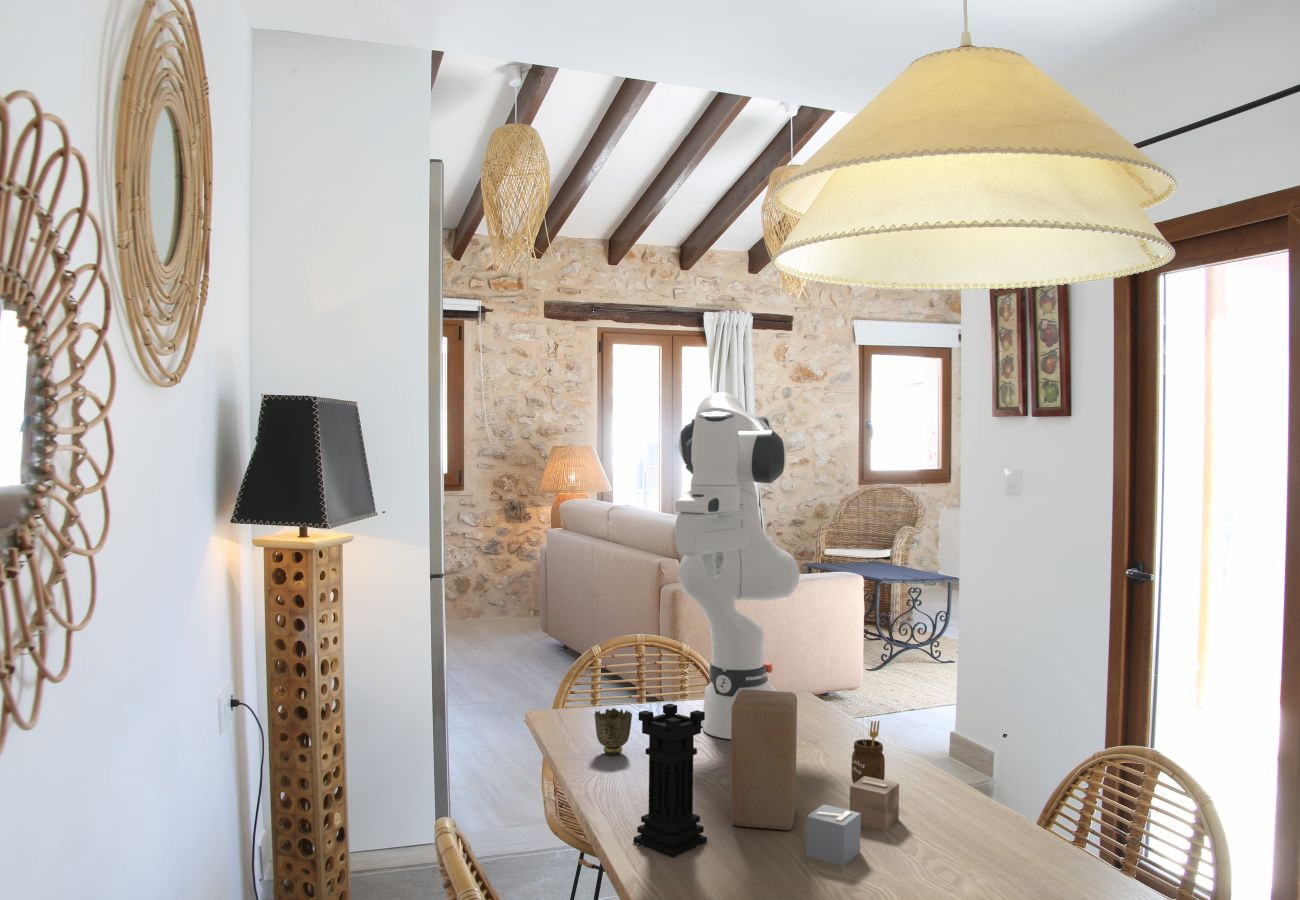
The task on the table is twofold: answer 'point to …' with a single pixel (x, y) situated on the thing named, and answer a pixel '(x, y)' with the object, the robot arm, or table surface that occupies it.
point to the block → (763, 759)
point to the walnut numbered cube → (875, 802)
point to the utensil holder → (868, 756)
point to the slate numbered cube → (833, 834)
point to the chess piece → (671, 782)
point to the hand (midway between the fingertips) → (714, 577)
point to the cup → (613, 729)
